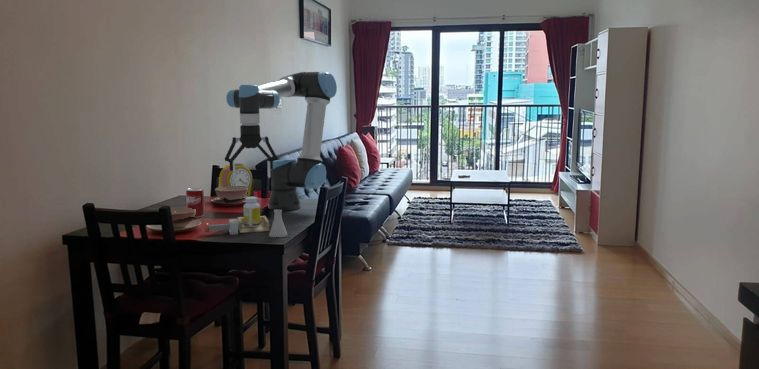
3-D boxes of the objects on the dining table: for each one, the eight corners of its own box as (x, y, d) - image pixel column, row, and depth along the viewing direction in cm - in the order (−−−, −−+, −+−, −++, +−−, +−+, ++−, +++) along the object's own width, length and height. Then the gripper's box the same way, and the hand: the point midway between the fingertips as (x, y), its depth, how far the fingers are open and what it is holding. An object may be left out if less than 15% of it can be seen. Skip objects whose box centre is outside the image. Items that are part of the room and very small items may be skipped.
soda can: (199, 218, 242) (198, 191, 240) (184, 217, 243) (182, 190, 241) (207, 214, 249) (206, 188, 247) (192, 214, 250) (191, 187, 248)
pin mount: (237, 230, 221) (236, 218, 221) (238, 234, 216) (237, 222, 215) (229, 231, 220) (228, 219, 220) (230, 234, 215) (229, 222, 214)
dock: (265, 223, 233) (265, 215, 233) (269, 230, 221) (269, 222, 221) (237, 225, 230) (237, 217, 229) (239, 232, 218) (239, 224, 217)
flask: (269, 233, 217) (269, 208, 216) (288, 233, 218) (288, 208, 216) (267, 238, 210) (267, 212, 208) (287, 238, 211) (286, 212, 209)
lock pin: (239, 229, 220) (239, 220, 220) (240, 231, 217) (240, 222, 216) (204, 231, 216) (204, 222, 216) (204, 233, 213) (204, 224, 212)
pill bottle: (263, 224, 228) (262, 196, 226) (255, 228, 222) (254, 199, 220) (249, 223, 230) (248, 195, 228) (240, 227, 224) (239, 198, 222)
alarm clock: (228, 201, 280) (227, 165, 277) (219, 199, 285) (218, 163, 282) (253, 197, 290) (252, 162, 288) (244, 195, 296) (243, 161, 293)
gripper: (280, 123, 227) (281, 175, 230) (216, 124, 219) (218, 177, 223) (283, 124, 220) (284, 178, 223) (217, 125, 212) (219, 180, 216)
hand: (251, 178), depth 223 cm, fingers open, 13 cm apart
